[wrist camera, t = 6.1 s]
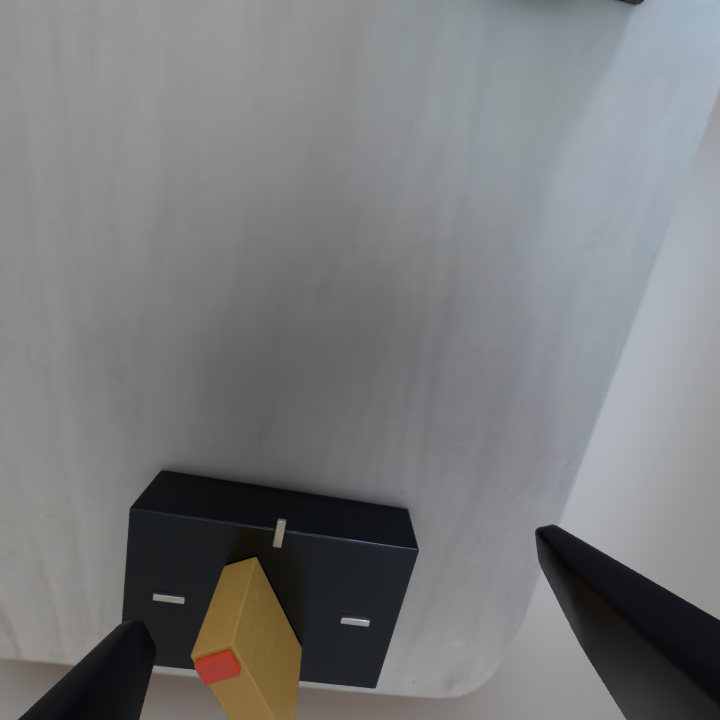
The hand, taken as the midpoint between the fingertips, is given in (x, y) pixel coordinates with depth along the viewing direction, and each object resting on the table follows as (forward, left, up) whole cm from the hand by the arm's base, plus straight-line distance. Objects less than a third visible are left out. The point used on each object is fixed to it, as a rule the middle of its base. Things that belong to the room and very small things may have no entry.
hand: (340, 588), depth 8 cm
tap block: (-7, +7, -11) cm, 14 cm away
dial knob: (-7, +7, -7) cm, 12 cm away
